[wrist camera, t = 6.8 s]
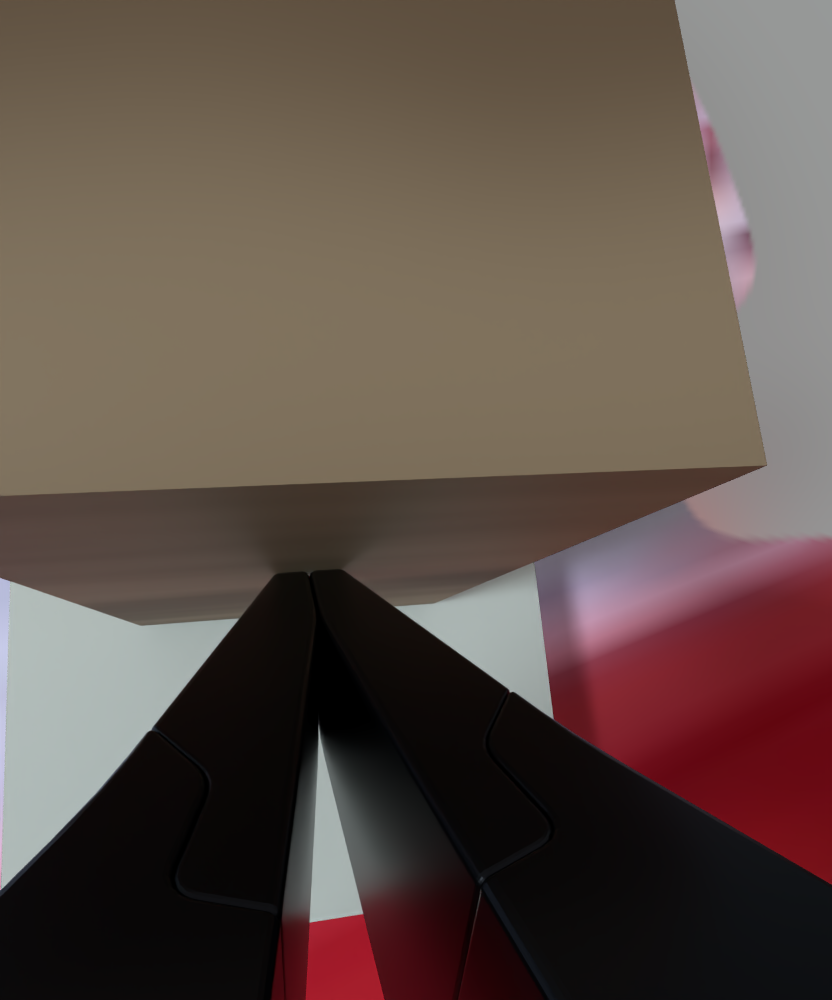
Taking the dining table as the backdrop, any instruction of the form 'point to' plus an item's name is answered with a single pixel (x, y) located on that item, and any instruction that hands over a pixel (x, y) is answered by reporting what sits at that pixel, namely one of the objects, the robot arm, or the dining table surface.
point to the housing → (158, 681)
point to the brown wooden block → (350, 294)
